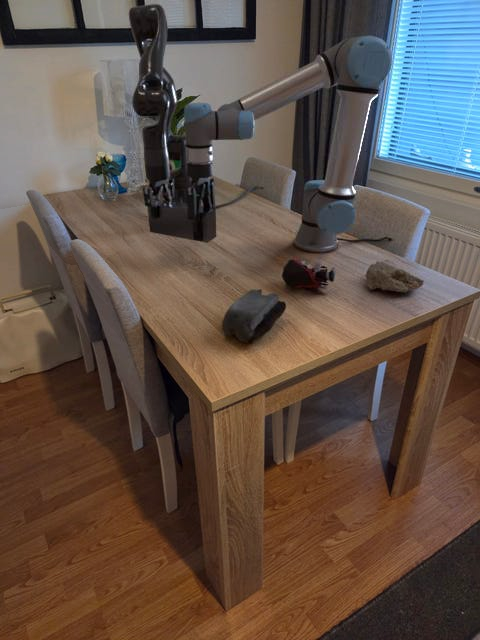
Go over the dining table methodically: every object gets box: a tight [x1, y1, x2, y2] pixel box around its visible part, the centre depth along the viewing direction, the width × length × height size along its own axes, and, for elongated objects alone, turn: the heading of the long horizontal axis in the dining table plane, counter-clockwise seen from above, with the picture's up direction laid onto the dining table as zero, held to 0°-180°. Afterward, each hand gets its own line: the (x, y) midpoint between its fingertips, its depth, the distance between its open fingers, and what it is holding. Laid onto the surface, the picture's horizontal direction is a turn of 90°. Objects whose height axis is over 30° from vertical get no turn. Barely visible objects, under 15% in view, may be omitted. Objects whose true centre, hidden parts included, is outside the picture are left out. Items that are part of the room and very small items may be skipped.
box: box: [146, 198, 217, 244], centre depth 142 cm, size 22×6×10 cm, turn 64°
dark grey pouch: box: [221, 289, 287, 345], centre depth 112 cm, size 18×11×8 cm, turn 152°
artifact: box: [365, 259, 424, 293], centre depth 134 cm, size 18×8×15 cm
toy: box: [281, 258, 336, 295], centre depth 131 cm, size 12×9×15 cm
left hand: (161, 214), depth 145 cm, fingers open, 7 cm apart
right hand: (203, 236), depth 142 cm, fingers closed on box, 6 cm apart
